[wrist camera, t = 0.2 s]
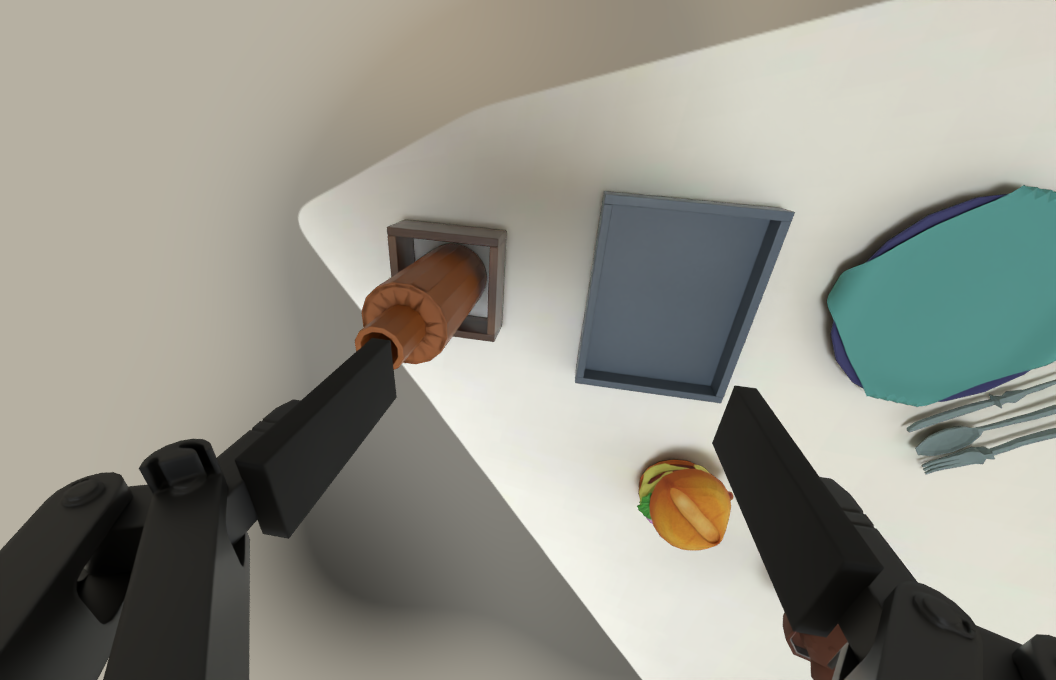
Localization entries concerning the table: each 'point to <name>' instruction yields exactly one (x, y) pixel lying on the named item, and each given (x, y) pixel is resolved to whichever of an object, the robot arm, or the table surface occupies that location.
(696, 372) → the tray
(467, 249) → the bottle
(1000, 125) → the table surface
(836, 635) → the ice cream bowl
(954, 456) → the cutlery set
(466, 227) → the tray
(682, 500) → the cheeseburger
